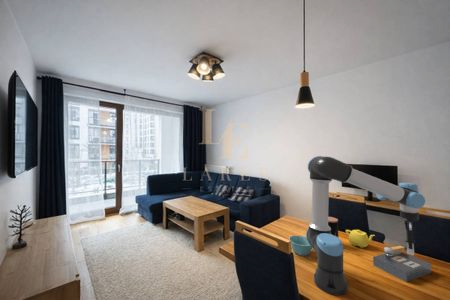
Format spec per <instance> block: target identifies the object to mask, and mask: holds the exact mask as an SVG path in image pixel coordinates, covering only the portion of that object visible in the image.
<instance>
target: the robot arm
mask: <svg viewBox="0 0 450 300" xmlns="http://www.w3.org/2000/svg"><path fill="white" fill-rule="evenodd" d="M307 169H308V170H307V171H308V172H309V180H310V181H311V182H312V185H311V186H312V188H311V192H312V195H311V196H312V197H311V222H310V223H309V224H308V228H307V230H306V232H305V237H306V238H307V241H308V242H309V244H310V245H311V246H312V250H314V251H315V253H316V258H317V261H316V262H317V266H316V269H315V272H314V275H313V282H314V284H315V286H316V287H317V288H319V289H320V290H321V291H323V292H325V293H328V294H330V295H335V296H343V295H347V293H348V292H349V284H348V281H347V279H346V275H345V273H344V245H343V242H342V240H341V238H339V236H338V237H336V236H333V235H332V234H331V228H330V227H329V226H328V217H329V204H330V203H329V199H330V198H329V196H330V195H329V194H330V183H331V182H332V181H333V180H334V181H337V182H340V183H343V184H344V183H348V184H351V185H353V186H356V187H358V188H360V189H363V190H366V191H368V192H371V193H373V194H375V197H376V198H377V199H378V200H380V201H384V202H386V201H390V202H393V203H395V204H399V213H400V214H399V216H400V218H402V219H404V226H405V230H406V240H405V243H406V246H407V251H406V254H408V255H411V256H415V245H414V244H415V243H416V241H415V237H414V235H415V233H414V232H415V228H416V227H415V226H416V223H415V221H419V220H420V214H419V209H421V208H423V207H424V206H425V203H426V198H425V196H424V195H423V194H421V193H419V187H418V184H416V183H413V182H399V183H398V185H396V184H393V183H391V182H388V181H386V180H382V179H381V178H378V177H376V176H372V175H370V174H368V173H365V172H363V171H359V170H358V169H355V168H353V166H352V165H351V164H348V163H346V162H343V161H341V160H340V159H337V158H334V157H331V156H323V155H322V156H321V155H319V156H318V155H317V156H314V157H312V158H311V159H309V161H308V163H307Z"/></svg>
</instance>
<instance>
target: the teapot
mask: <svg viewBox="0 0 450 300" xmlns="http://www.w3.org/2000/svg"><path fill="white" fill-rule="evenodd" d="M345 233H346V234H347V236H348V242H349V243H350V244H351V246H353V247H354V246H356V247H359V248H360V249H364V248H366V247H368V246H369V244H371V243H372V241H373V237H375V236H376V235H375V234H370V235H369V236H368V234H367V232H365V231H362V230H360V229H352V230H350V229H345Z"/></svg>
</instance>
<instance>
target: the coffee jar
mask: <svg viewBox="0 0 450 300" xmlns="http://www.w3.org/2000/svg"><path fill="white" fill-rule="evenodd" d="M338 222H339V219H338V218H336V217H333V216H328V226H329V227H330V228H331V234H332V235H333V236H336V237H338V238H339V223H338Z"/></svg>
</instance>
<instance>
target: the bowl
mask: <svg viewBox="0 0 450 300" xmlns="http://www.w3.org/2000/svg"><path fill="white" fill-rule="evenodd" d="M288 240H289V242H290V241H291V244H290V246H291V245H292V247H291V250H292V251H293V252H294V253H295V254H296V255H298V256H306V257H307V256H308V255H310V254H311V251H312V250H313V248H312V246H311V245H310V244H309V242H308V241H307V238H306V236H304V235H291V236H289V238H288Z"/></svg>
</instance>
